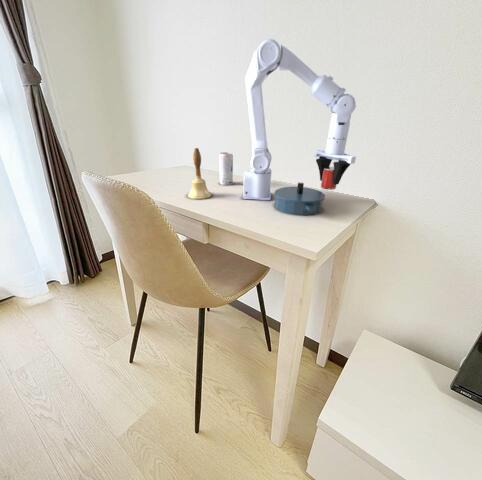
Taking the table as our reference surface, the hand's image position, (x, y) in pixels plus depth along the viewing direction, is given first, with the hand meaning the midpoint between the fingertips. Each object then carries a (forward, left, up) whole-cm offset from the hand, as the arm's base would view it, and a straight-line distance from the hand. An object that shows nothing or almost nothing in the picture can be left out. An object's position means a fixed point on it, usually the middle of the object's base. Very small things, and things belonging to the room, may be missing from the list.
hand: (329, 182), depth 86 cm
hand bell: (-44, -3, -7) cm, 45 cm away
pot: (-10, -8, -6) cm, 15 cm away
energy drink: (-38, +15, -7) cm, 41 cm away
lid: (-10, -8, -2) cm, 13 cm away
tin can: (0, 0, -2) cm, 2 cm away
